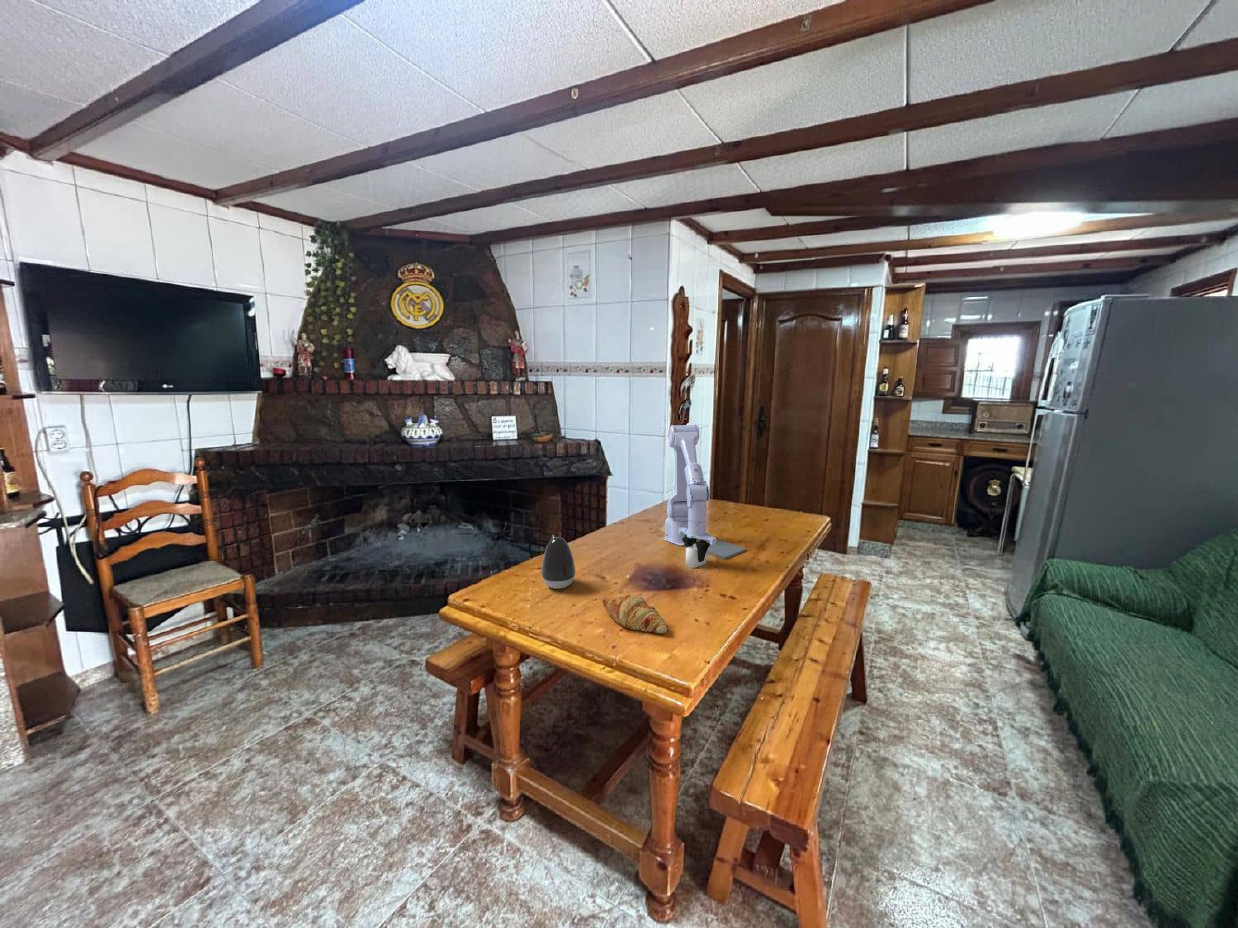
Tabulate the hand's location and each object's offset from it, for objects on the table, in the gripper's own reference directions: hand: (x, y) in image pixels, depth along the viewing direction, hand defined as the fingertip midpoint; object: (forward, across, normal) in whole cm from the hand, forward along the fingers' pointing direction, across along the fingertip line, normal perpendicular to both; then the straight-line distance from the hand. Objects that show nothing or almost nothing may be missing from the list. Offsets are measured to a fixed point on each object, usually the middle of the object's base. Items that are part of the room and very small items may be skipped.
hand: (696, 559), depth 166 cm
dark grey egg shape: (+2, -17, -43) cm, 46 cm away
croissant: (+2, +14, -41) cm, 43 cm away
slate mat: (+2, -2, +16) cm, 16 cm away
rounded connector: (+2, 0, 0) cm, 2 cm away
